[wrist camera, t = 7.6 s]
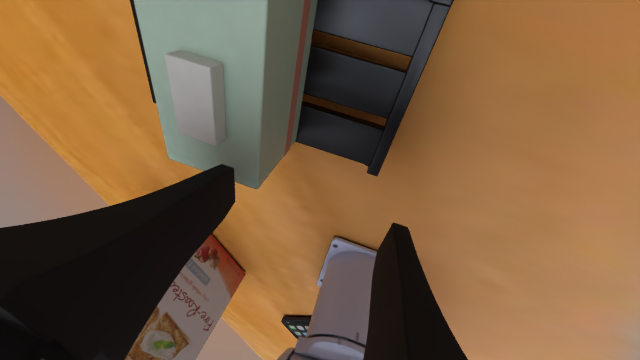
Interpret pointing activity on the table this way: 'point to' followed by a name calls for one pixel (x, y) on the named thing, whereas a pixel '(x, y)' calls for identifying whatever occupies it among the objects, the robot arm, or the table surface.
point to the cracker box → (190, 306)
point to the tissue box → (228, 79)
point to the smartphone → (297, 325)
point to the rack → (361, 73)
